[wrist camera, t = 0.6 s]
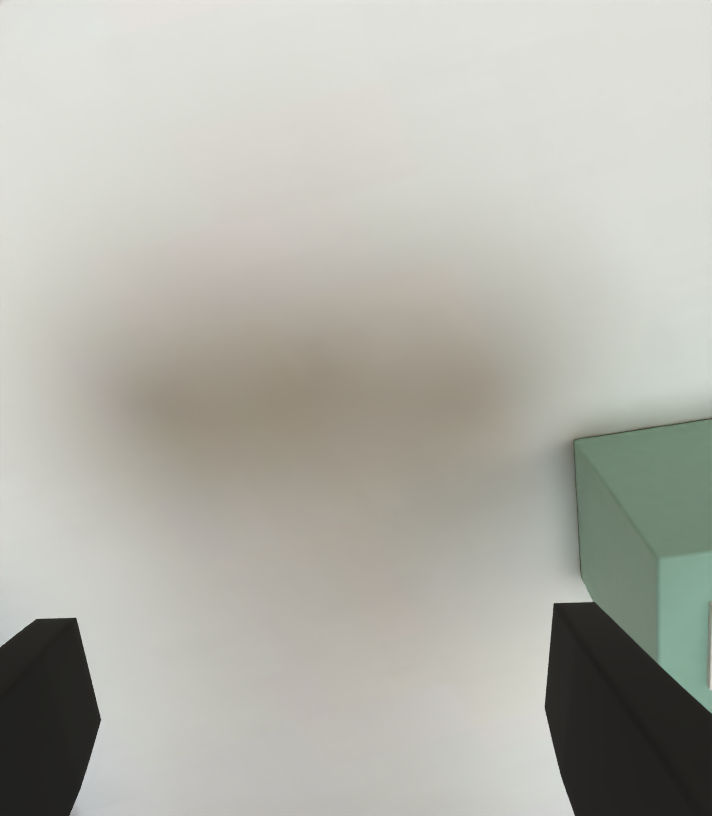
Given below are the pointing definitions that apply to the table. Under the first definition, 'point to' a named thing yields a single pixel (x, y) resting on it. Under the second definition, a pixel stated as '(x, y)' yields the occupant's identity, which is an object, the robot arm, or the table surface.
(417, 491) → the table surface
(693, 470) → the tissue box
